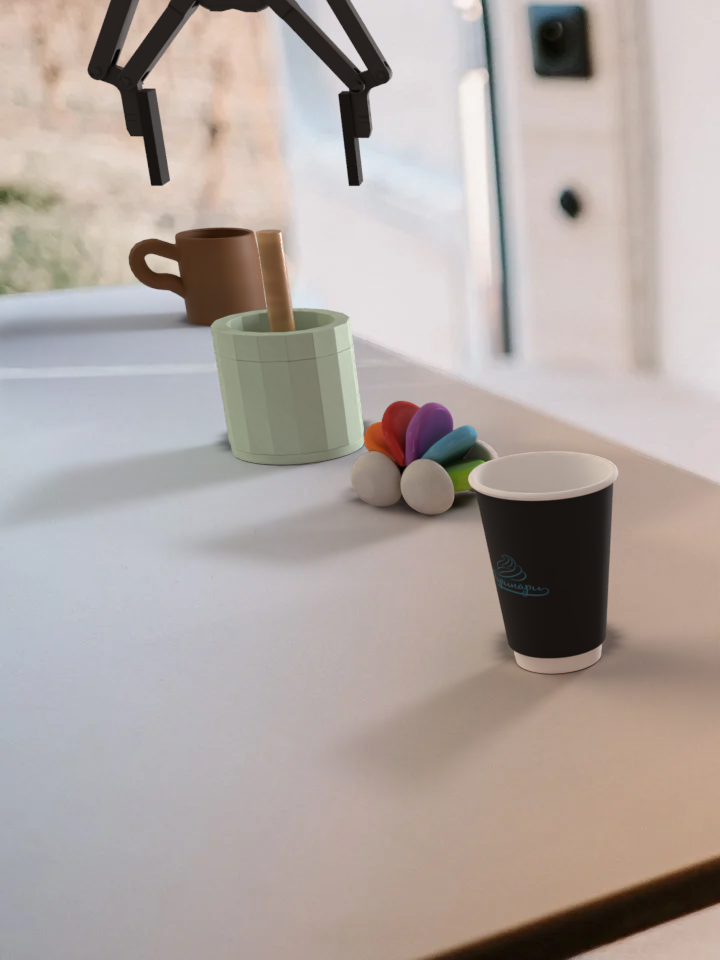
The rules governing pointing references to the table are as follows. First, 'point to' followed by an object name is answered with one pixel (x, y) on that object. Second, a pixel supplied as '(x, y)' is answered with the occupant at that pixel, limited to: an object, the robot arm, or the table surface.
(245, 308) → the mug
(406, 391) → the table surface
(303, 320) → the jar
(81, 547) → the table surface
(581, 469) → the dixie cup
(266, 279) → the brush
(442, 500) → the rainbow petal wheeled toy
